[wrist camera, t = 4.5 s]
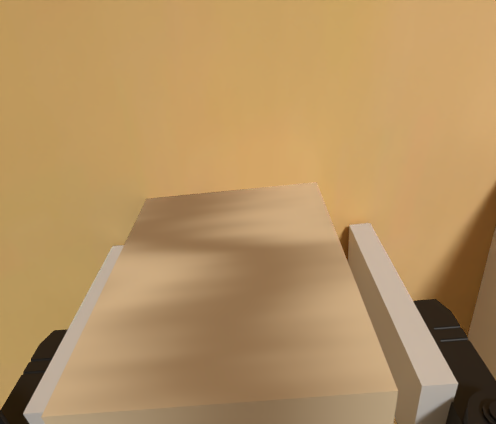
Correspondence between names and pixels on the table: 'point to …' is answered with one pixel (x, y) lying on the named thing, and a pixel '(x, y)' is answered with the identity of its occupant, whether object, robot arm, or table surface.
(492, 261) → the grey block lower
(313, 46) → the table surface
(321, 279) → the oak block
